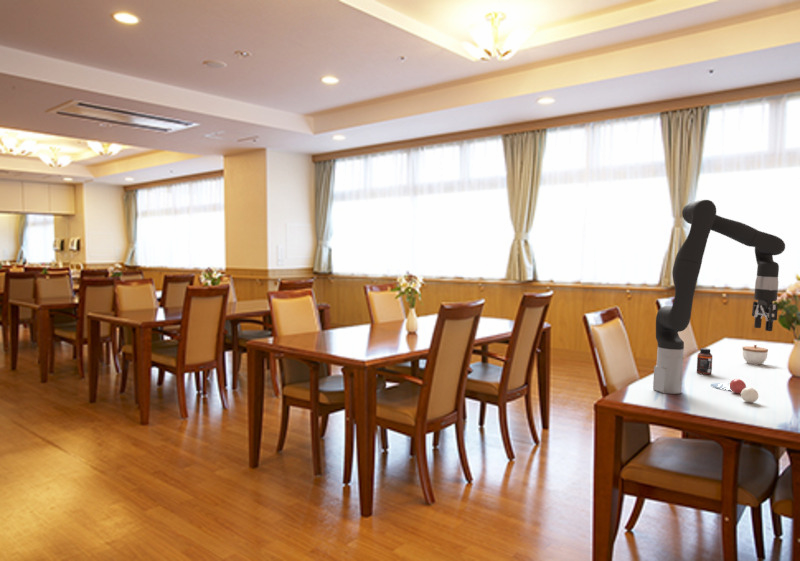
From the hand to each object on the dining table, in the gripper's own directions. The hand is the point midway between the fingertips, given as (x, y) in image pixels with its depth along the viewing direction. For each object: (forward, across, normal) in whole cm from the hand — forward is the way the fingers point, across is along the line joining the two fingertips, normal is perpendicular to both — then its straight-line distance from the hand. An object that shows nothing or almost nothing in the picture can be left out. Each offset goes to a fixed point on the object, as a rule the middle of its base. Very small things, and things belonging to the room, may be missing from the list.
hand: (763, 329), depth 218 cm
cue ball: (+22, +18, -11) cm, 31 cm away
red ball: (+22, +4, -9) cm, 24 cm away
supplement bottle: (+25, -31, -8) cm, 41 cm away
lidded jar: (+24, -63, +28) cm, 73 cm away
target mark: (+25, -5, -8) cm, 27 cm away
